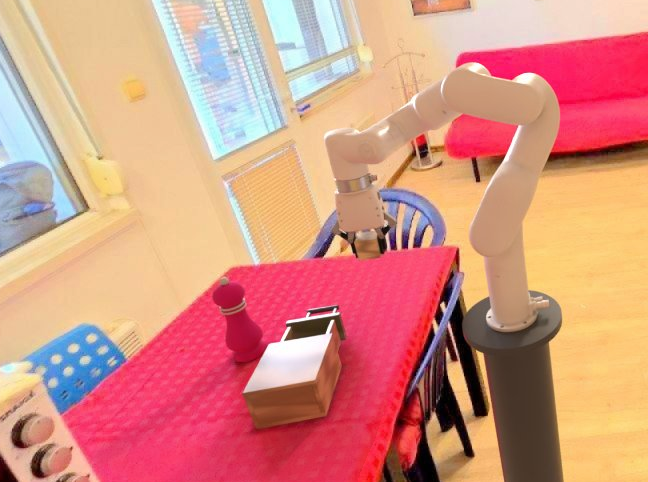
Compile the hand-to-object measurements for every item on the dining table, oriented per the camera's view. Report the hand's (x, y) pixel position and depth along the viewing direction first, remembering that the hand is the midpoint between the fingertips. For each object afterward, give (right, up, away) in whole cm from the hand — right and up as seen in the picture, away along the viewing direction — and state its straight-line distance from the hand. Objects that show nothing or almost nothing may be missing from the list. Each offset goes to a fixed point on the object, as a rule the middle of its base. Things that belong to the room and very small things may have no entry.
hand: (371, 252), depth 125 cm
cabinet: (-7, -26, -20) cm, 34 cm away
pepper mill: (-25, -23, -6) cm, 34 cm away
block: (0, 0, 0) cm, 0 cm away
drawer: (-9, -21, -8) cm, 24 cm away
